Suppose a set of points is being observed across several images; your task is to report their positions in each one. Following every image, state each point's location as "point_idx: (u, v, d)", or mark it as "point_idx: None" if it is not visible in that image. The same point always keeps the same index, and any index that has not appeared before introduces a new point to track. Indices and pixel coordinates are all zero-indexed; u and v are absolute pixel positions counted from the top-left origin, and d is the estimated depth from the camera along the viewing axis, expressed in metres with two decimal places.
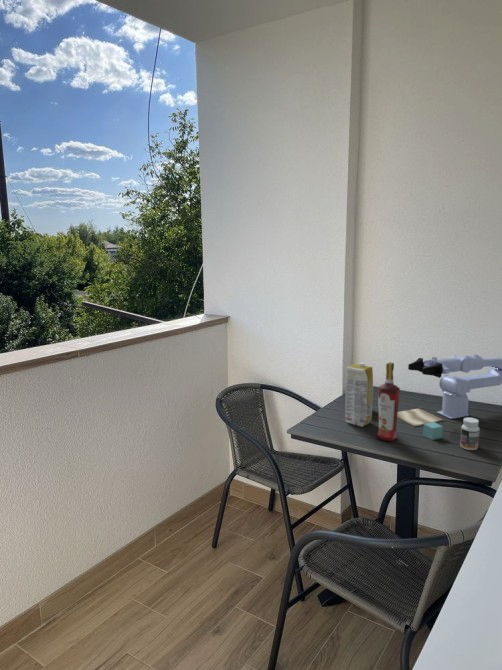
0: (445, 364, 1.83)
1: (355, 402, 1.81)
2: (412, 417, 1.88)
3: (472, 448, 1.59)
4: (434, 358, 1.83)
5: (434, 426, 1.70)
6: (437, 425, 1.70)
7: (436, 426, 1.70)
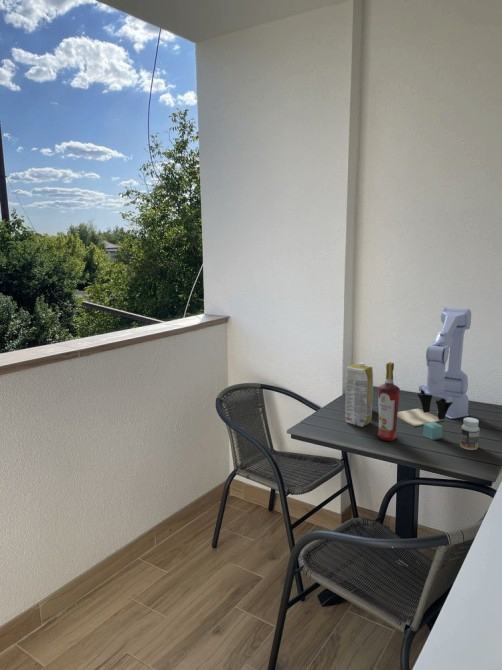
0: (437, 385, 1.65)
1: (355, 402, 1.81)
2: (412, 417, 1.88)
3: (472, 448, 1.59)
4: None
5: (434, 426, 1.70)
6: (437, 425, 1.70)
7: (436, 425, 1.70)
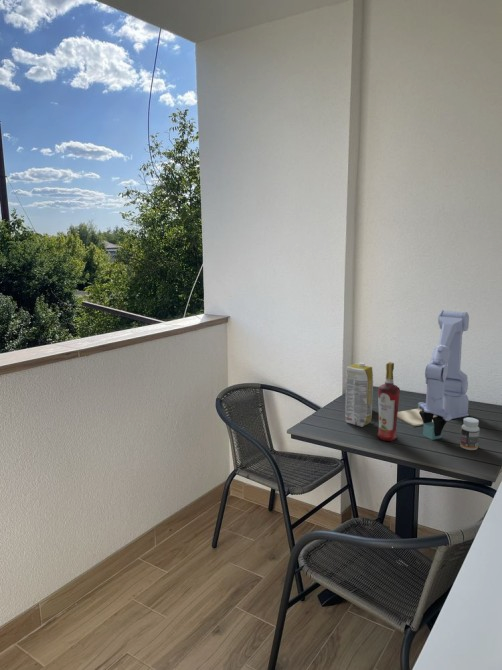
0: (436, 403, 1.66)
1: (355, 402, 1.81)
2: (412, 417, 1.88)
3: (472, 448, 1.59)
4: None
5: None
6: None
7: None
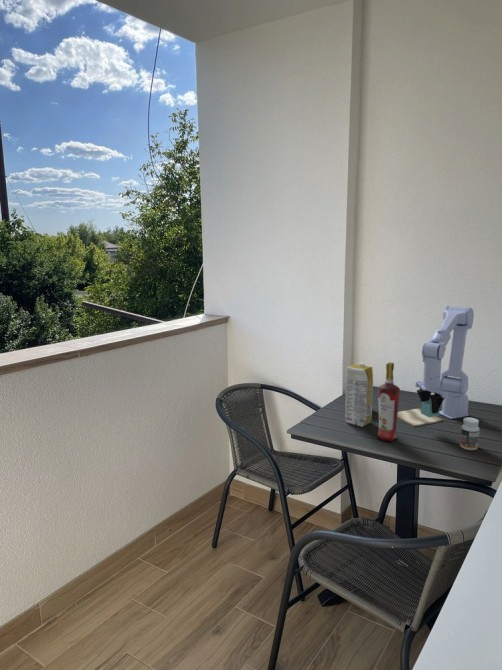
0: (434, 381, 1.69)
1: (355, 402, 1.81)
2: (412, 417, 1.88)
3: (472, 448, 1.59)
4: None
5: (431, 403, 1.72)
6: None
7: None
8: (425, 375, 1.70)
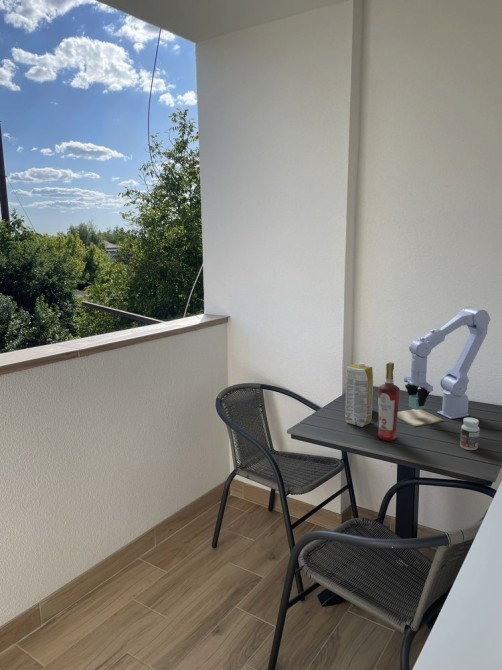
0: (420, 376, 1.83)
1: (355, 402, 1.81)
2: (412, 417, 1.88)
3: (472, 448, 1.59)
4: None
5: None
6: None
7: None
8: (412, 371, 1.85)
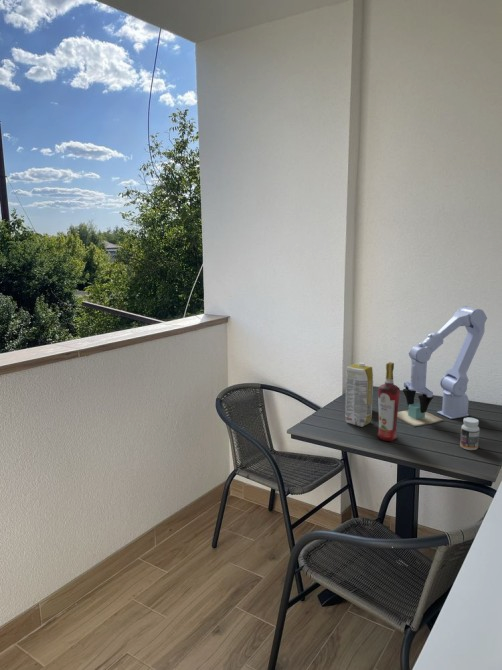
0: (420, 382, 1.84)
1: (355, 402, 1.81)
2: None
3: (472, 448, 1.59)
4: None
5: (417, 406, 1.87)
6: None
7: (419, 406, 1.88)
8: (412, 376, 1.85)
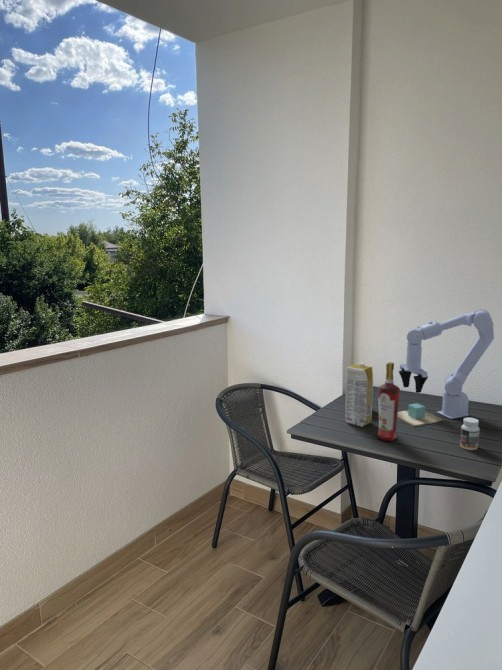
0: (415, 363, 1.91)
1: (355, 402, 1.81)
2: None
3: (472, 448, 1.59)
4: (406, 370, 1.93)
5: (417, 406, 1.87)
6: (420, 406, 1.88)
7: (419, 406, 1.88)
8: (407, 358, 1.93)
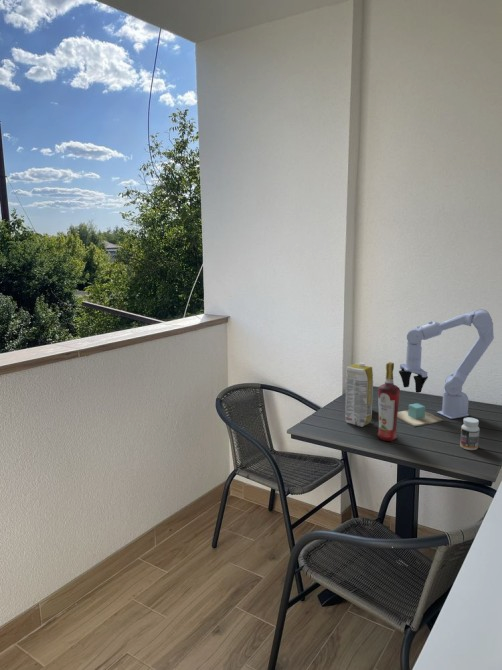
0: (415, 363, 1.91)
1: (355, 402, 1.81)
2: None
3: (472, 448, 1.59)
4: (406, 370, 1.93)
5: (417, 406, 1.87)
6: (420, 406, 1.88)
7: (419, 406, 1.88)
8: (407, 358, 1.93)
